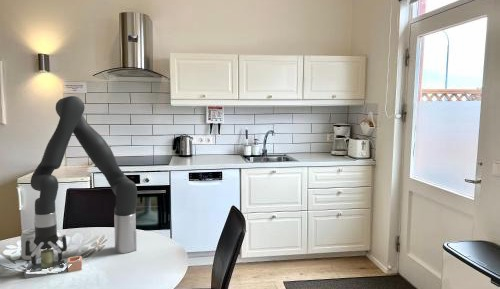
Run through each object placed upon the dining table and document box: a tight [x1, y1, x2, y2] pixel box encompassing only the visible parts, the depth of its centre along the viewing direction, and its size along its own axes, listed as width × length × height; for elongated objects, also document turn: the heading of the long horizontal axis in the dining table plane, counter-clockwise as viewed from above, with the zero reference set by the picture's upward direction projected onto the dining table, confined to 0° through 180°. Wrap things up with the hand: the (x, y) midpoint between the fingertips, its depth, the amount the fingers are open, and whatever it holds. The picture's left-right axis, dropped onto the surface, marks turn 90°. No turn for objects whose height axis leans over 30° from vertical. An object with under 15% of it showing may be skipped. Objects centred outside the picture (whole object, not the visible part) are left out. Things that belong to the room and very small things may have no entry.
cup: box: [67, 255, 83, 273], centre depth 144 cm, size 5×5×4 cm
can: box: [20, 228, 42, 261], centre depth 153 cm, size 8×8×12 cm
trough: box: [24, 258, 68, 279], centre depth 142 cm, size 14×9×2 cm, turn 114°
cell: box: [40, 248, 55, 270], centre depth 141 cm, size 4×4×9 cm
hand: (47, 262), depth 141 cm, fingers open, 8 cm apart
